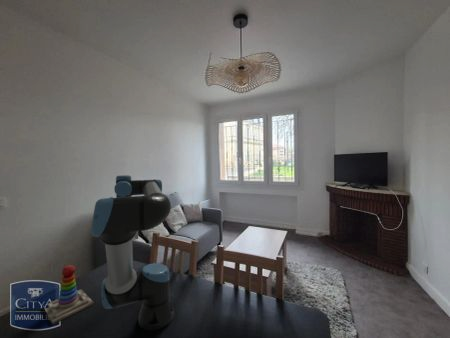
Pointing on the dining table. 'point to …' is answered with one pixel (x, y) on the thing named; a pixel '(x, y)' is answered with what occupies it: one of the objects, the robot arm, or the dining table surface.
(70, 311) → the rectangular beige tray
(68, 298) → the stacking toy
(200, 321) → the dining table surface
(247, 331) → the dining table surface
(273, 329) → the dining table surface
